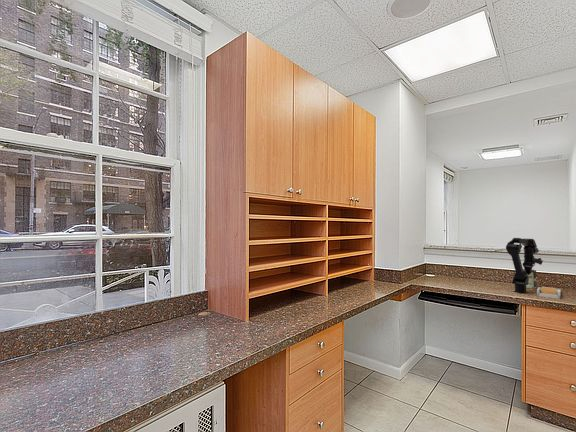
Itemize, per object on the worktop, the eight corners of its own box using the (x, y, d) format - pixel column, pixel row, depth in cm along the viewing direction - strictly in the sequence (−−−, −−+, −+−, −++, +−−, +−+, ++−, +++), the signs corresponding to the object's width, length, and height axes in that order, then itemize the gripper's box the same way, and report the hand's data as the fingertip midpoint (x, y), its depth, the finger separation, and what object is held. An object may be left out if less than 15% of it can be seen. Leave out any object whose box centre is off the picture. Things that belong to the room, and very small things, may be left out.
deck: (560, 298, 212) (559, 292, 212) (537, 295, 220) (536, 289, 220) (561, 292, 232) (560, 286, 233) (540, 289, 241) (539, 284, 241)
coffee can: (530, 285, 258) (529, 269, 259) (539, 288, 248) (539, 270, 248) (517, 285, 258) (517, 269, 259) (527, 288, 248) (526, 270, 248)
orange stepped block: (556, 297, 215) (556, 289, 215) (541, 296, 220) (541, 287, 221) (556, 296, 220) (555, 287, 220) (541, 294, 225) (541, 286, 225)
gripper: (540, 256, 228) (541, 276, 227) (542, 254, 241) (543, 274, 241) (522, 255, 236) (522, 275, 235) (525, 253, 249) (525, 272, 249)
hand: (529, 274), depth 240 cm, fingers open, 9 cm apart
